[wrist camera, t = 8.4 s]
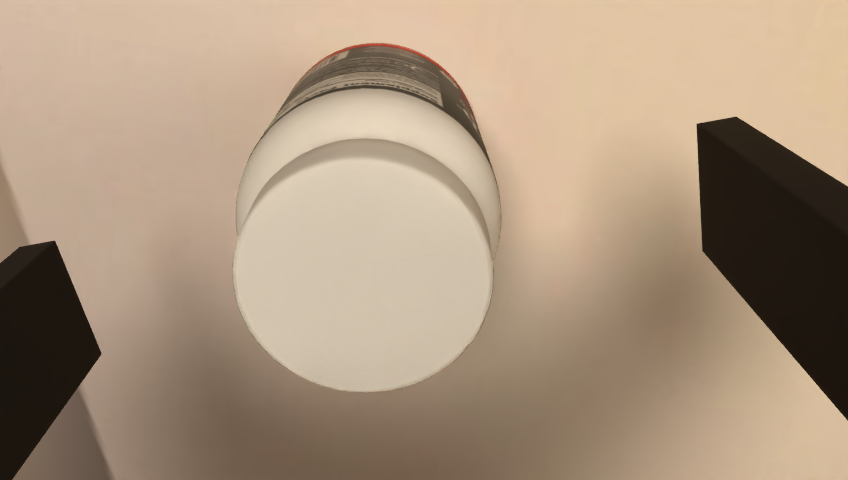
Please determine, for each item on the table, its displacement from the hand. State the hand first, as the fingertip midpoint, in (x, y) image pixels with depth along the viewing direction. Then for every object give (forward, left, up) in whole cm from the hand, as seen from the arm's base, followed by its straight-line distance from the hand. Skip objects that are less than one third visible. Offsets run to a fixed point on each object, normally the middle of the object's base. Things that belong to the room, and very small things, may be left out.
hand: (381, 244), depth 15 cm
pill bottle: (0, 0, -8) cm, 8 cm away
